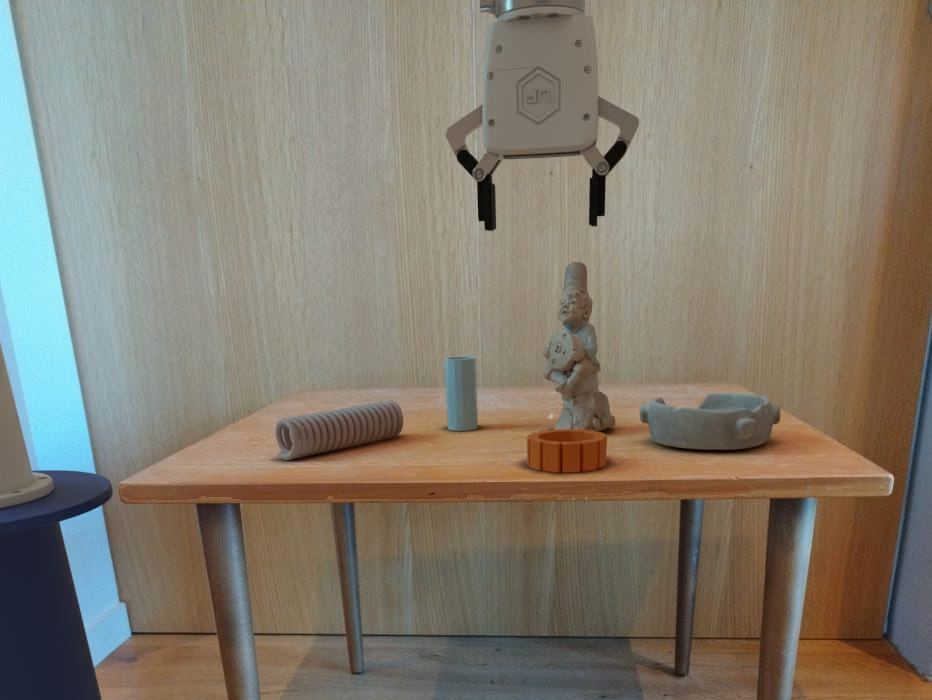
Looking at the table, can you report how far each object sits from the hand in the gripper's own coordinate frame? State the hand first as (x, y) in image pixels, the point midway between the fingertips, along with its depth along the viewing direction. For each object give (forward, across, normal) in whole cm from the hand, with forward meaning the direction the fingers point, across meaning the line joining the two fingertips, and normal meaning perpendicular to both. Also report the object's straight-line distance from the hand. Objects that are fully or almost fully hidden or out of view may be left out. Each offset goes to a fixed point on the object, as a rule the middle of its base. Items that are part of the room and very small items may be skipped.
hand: (541, 228), depth 79 cm
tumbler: (+23, -13, +26) cm, 37 cm away
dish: (+23, +19, +16) cm, 34 cm away
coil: (+23, -25, +13) cm, 37 cm away
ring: (+23, +2, +4) cm, 23 cm away
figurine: (+23, +3, +23) cm, 33 cm away
